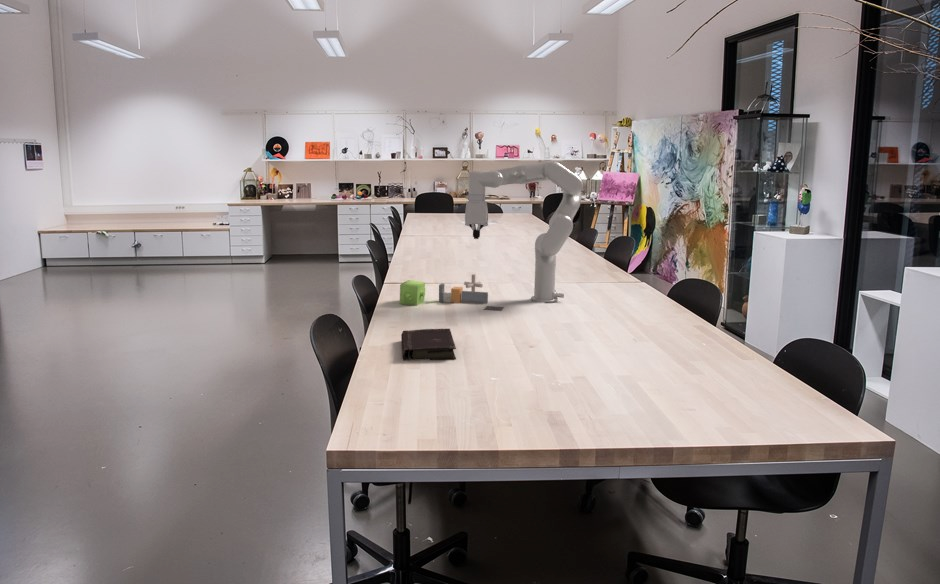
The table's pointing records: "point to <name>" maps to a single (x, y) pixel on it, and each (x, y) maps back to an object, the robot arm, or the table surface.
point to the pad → (493, 308)
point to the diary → (428, 344)
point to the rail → (463, 296)
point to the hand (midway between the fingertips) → (476, 238)
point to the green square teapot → (412, 292)
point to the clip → (456, 294)
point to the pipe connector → (473, 284)
